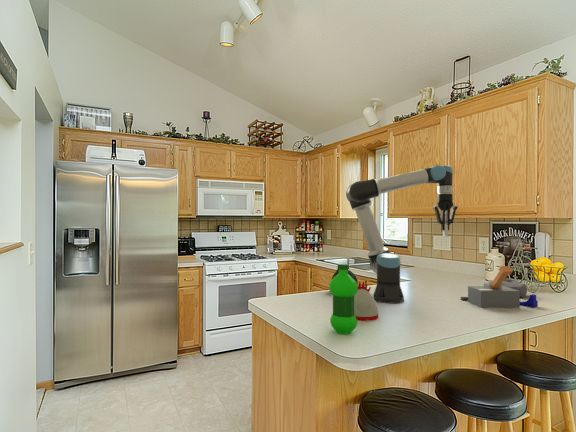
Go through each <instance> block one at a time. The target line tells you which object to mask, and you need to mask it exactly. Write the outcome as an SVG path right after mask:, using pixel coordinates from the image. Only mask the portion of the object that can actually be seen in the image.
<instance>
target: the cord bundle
mask: <svg viewBox="0 0 576 432" xmlns="http://www.w3.org/2000/svg"><path fill="white" fill-rule="evenodd" d="M460 300H461V301H468V296H460Z"/></svg>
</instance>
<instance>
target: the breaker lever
mask: <svg viewBox="0 0 576 432" xmlns="http://www.w3.org/2000/svg"><path fill="white" fill-rule="evenodd" d="M498 270H499V272H498V273H497V274H496V276H495V277H494V279H492V280H493V281H492V280H491V281H492V283H491V289H498V288H499V286H500V285H501V284H502V282H503V281H504V280H506V279H507V277H508V275H509V276H510V275H512V273H513V269H512V268H511V266H510V265H507V266H506V265H501V266H499V269H498Z"/></svg>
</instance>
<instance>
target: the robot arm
mask: <svg viewBox="0 0 576 432" xmlns="http://www.w3.org/2000/svg"><path fill="white" fill-rule="evenodd" d="M453 175H454V174H453V167H452V166H451V165H440V164H438V165H437V164H436V165H433V166H430V167H426V168H422V169H417V170H414V171H408V172H405V173H399V174H396V175H392V176H388V177H384V178H379V179H376V178H372V179H366V180H365V179H364V180H358V181H355V182H353V183H352V184H350V185H349V186H348V187H347V189H346V191H345V192H346V193H345V196H346V199H347V201H348V202H349V205H350V207H351V210H352V211H355V214H356V217H357V219H358V222H359V225H360V228H361V232H362V233H363V236H364V240H365V242H366V245H367V248H368V253H367V256H368V260H369V266H370V268H371V270H372V271H373V273H375V274H376V286H375V289H374V293H373V298H374V300H375V302H380V303H385V304H398V303H403V302H404V299H405V296H404V292H403V291H402V286H401V258H400V256H399V255H397V254H393V253H390V251H389V248H387V247H386V246H384V242H383V239H382V237H381V236H382V235H381V234H380V231H379V227H378V224H377V222H376V218H375V216H374V212H373V210H372V207H371V206H372V203H373V202H372V201H373V200H372V199H373V198H378V197H379V196H380V195H382V194H386V193H390V192H394V191H398V190H403V189H406V188H410V187H415V186H420V185H424V184H437V203H436V205H434V206H432V209H433V210H434V212H435V218H436V220H437V221H436V222H437V224H440V225H441V227H440V228H441V231H442V237H446V238H447V237H449V235H448V234H449V231H450V225H451V224H453V223H454V219H455V215H456V211H457V209H458V207H459V206H456V205H455V204H454V202H453Z"/></svg>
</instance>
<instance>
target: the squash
mask: <svg viewBox="0 0 576 432" xmlns="http://www.w3.org/2000/svg"><path fill="white" fill-rule="evenodd" d="M337 274H339V269H338V268H337V269H336V270H335V272H334V274H333V275H332V277H331V280H332V279H333V278H334V277H335V276H336V275H337ZM348 274H349V275H350V276H351V277H352V278H353V279H354V280H355V281H356V282H357V285H358V286H359V282H358V281H359V280H358V278H357V276H356V275H355V273H354V272H353V271H351V270H350V269H348ZM331 280H330V281H331Z"/></svg>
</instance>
